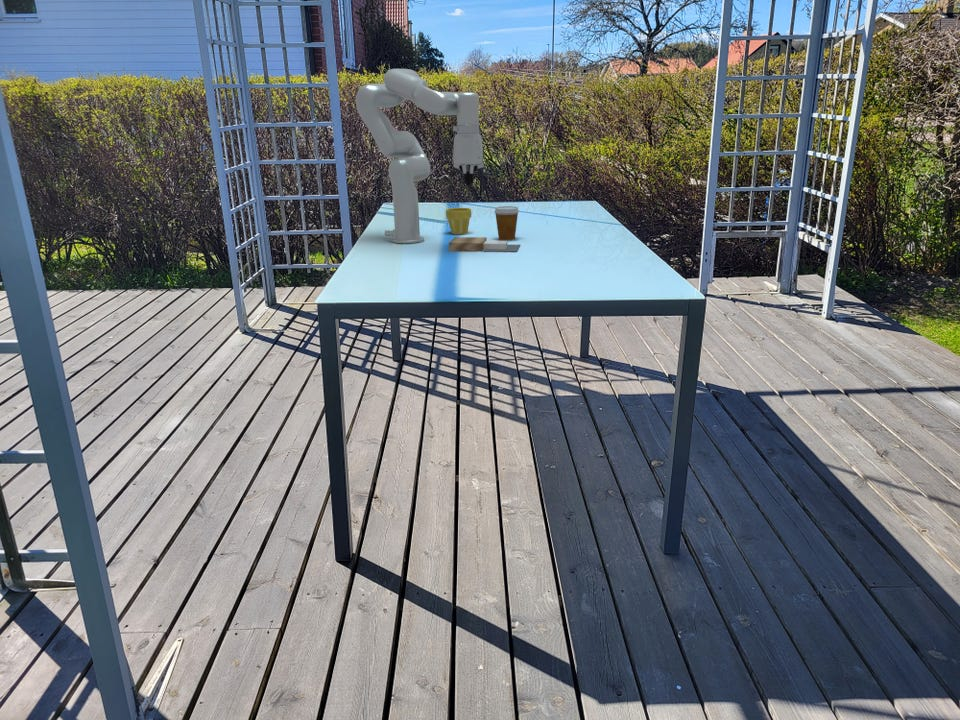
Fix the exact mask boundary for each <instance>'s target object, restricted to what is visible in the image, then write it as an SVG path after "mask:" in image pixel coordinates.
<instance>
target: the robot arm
mask: <svg viewBox="0 0 960 720" xmlns="http://www.w3.org/2000/svg"><path fill="white" fill-rule="evenodd" d="M406 100H408V101H410V102H413V103H414V104H415V105H416V106H417V108H419V109H421V110H423V111H424V112H427V113H429V114H432V115H435V116H456V126H453V127H452V131H453V132H456V134H454V140H453V149H452V150H453V154H452V159H453V160H452V161H453V168H455V169H459V170H460V171H461V172H462V173H463V177H464V181H463V182H464V183H465V185H466V186H472V184H473V183H474V173H475V172H476V171H477V170H478V169H482V168H484V167H485V164H484V148H483V147H484V146H483V141H482V135H481V134H480V124H479V123H480V116H479V115H480V114H479V113H480V109H479V108H480V107H479V104H480V103H479V102H480V101H479V95H478V93H477V92H456V91H455V92H454V91H436V90H434V89H431V88H429V85H428V82H427V81H426V80H425V79H424V78H422V77H420V76H419V74H418V73H417V72H416V71H415V70H413V69H410V68H409V69H408V68H390V69H389V70H388V71H386V72H385V73H384V76H383V83H367V84H364V85H362V86H361V87H360V88H359V89H358V90H357V93H356V97H355V104H356V109H357V112H358V115H359V116H360V118H361V120H362V121H363V123H364V125H365V126H366V128H367V129H368V130H369V132H370V135H371V136H372V138H373V139H374V142H375V143H376V145H377V146H378V148H379V151H380V152H381V154H382V156H384V157H385V158H390V159H392V158H393V159H392V160H391V161H390V163H389V165H388V176H389V180H390V184H391V191H392V202H393V207H392V208H393V219H394V220H393V222H394V229H392V230H384V236H387V237H392V238H391V241H390V242H392V243H395V244H416V243H422V242H423V241H425V237H424V236H422V235H421V234H420V233H421V231H420V230H421V229H420V214H419V213H420V211H419V195H418V190H417V187H416V185H415V183H414V182H421V181H423V180H426V179H427V178H428V177H429V176H430V173H431V163H430V162H429V159H428V157H427V155H426V153H425V152H424V149H423V148H422V146H421V144H420V142H419V141H418V139H417V138H416V136H415V135H414V134H413V133H411V132H410V131H407V130H396V129H395V128H394V125H392V123H391V121H390V119H389V118H388V116H387V115H386V114H385V113H384V112H383V111H382V110H380V109H381V108H382V109H388V108H395V107H398V106H399V105H400V104H402V103H403V102H405V101H406ZM469 165H470V167H469V169H468V166H469Z"/></svg>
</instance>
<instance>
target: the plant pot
mask: <svg viewBox="0 0 960 720" xmlns="http://www.w3.org/2000/svg"><path fill="white" fill-rule="evenodd" d="M445 216H446V219H447V221H448V225H449V229H450V232H451V234H452V235H466V233H467V234H468V231H469V227H470V220H471V219H470V218H472V208H470V207H469V208H468V207H452V208H451V207H450V208H447V209H445Z"/></svg>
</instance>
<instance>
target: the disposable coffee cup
mask: <svg viewBox="0 0 960 720" xmlns="http://www.w3.org/2000/svg"><path fill="white" fill-rule="evenodd" d="M493 212H494V214H495V219H496V228H497V234H498V236H497V237H498V241H514V240H516V234H517V233H516V231H517V225H518V215H519V212H520V210H519V207H517V206H506V205H504V206H497V207H495V209H494V211H493ZM513 239H514V240H513Z"/></svg>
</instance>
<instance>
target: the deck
mask: <svg viewBox="0 0 960 720" xmlns="http://www.w3.org/2000/svg"><path fill="white" fill-rule="evenodd" d="M487 239H488V237H484V236H483V237H482V236H480V237H479V236H478V237H477V236H475V237H473V236H468V237H467V236H465V237H464V236H462V237H461V236H457V237H456V236H454V237H453V238H452V239H451V240H450V241H449V242H448V252H475V253H477V251H482V252H483V251H484V249H483V243H484V242H485V241H488V240H487Z"/></svg>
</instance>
